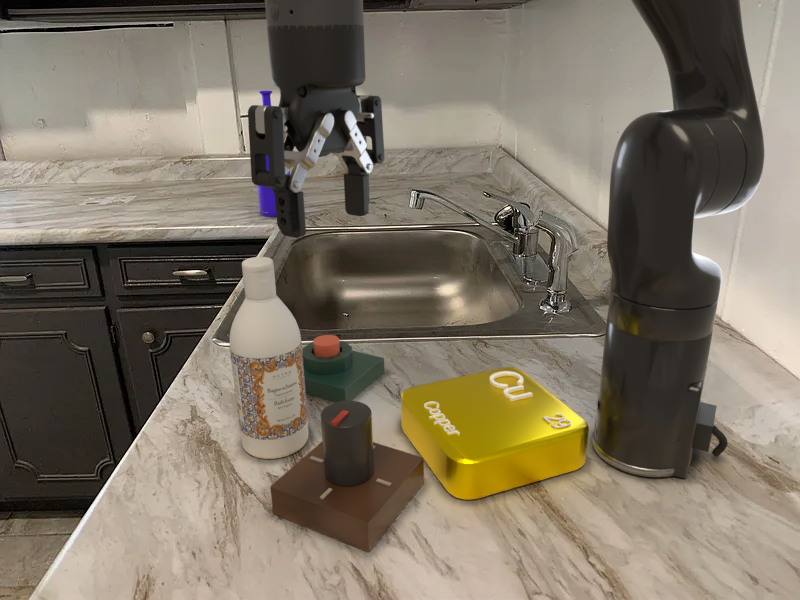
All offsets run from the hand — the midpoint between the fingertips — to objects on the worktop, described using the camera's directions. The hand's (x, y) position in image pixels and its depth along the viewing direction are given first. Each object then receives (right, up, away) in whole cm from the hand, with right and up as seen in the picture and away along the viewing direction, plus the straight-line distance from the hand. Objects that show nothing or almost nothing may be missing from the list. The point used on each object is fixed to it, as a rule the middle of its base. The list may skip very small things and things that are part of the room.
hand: (327, 224), depth 55 cm
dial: (+2, -22, +2) cm, 22 cm away
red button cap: (-3, -13, +23) cm, 26 cm away
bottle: (-25, +15, +107) cm, 111 cm away
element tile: (+16, -22, +11) cm, 29 cm away
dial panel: (+2, -25, +3) cm, 25 cm away
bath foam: (-7, -22, +12) cm, 25 cm away
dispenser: (-3, -17, +24) cm, 29 cm away
